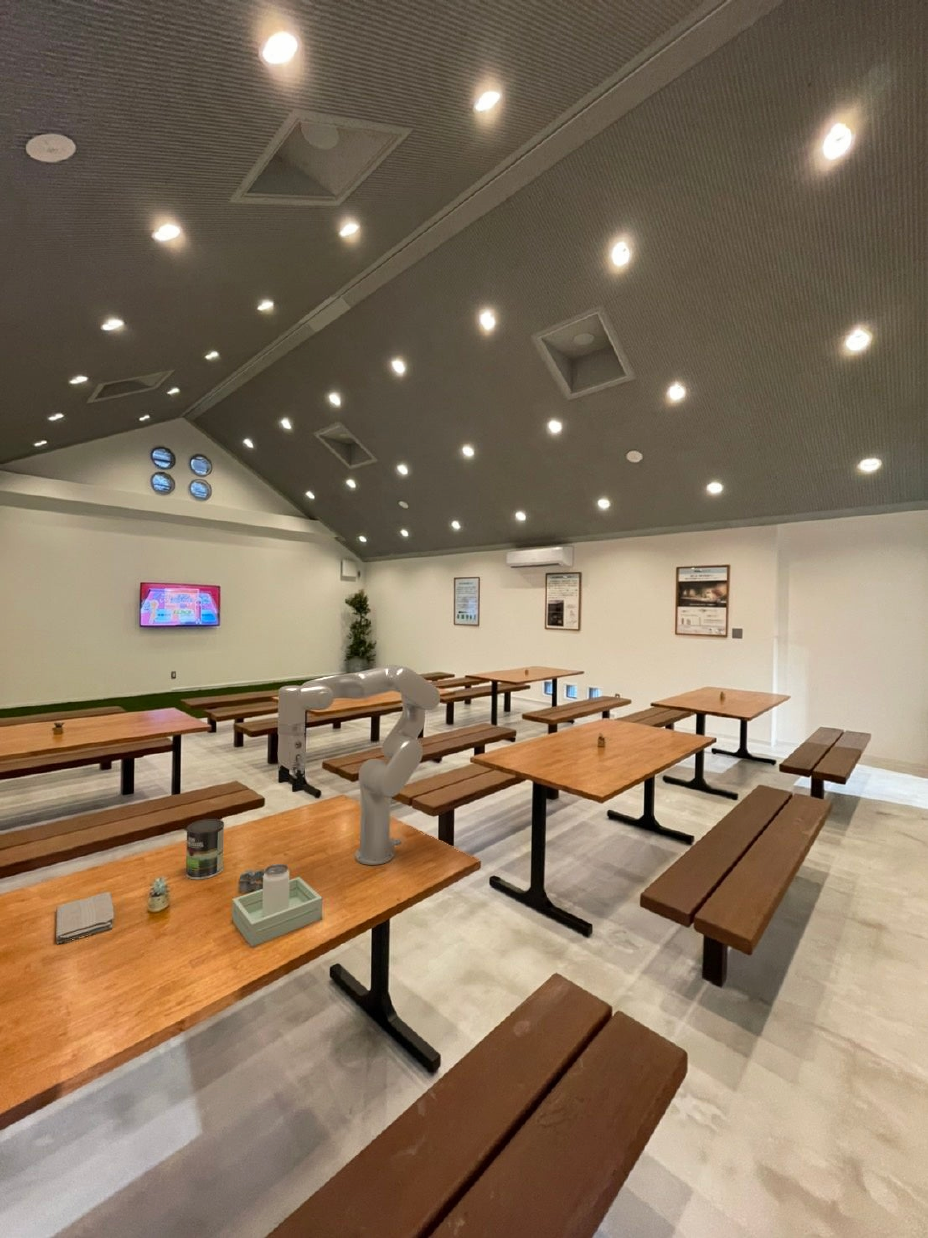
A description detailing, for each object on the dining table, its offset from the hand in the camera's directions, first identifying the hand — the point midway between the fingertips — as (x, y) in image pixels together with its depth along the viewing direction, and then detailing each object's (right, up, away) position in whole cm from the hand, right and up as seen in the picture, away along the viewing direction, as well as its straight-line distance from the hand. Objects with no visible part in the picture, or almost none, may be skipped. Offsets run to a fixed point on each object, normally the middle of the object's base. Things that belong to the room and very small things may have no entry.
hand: (290, 786), depth 154 cm
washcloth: (-46, -28, -20) cm, 58 cm away
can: (+2, -28, -17) cm, 33 cm away
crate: (+3, -29, -18) cm, 34 cm away
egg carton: (-9, -29, -2) cm, 30 cm away
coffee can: (-28, -28, +6) cm, 40 cm away
